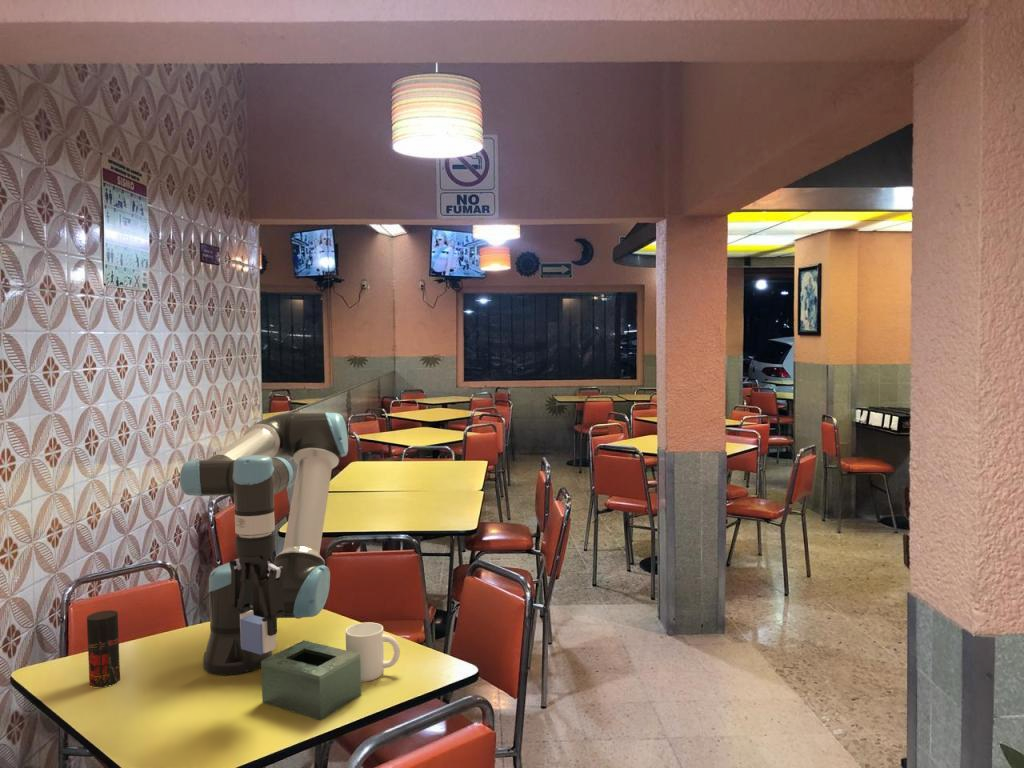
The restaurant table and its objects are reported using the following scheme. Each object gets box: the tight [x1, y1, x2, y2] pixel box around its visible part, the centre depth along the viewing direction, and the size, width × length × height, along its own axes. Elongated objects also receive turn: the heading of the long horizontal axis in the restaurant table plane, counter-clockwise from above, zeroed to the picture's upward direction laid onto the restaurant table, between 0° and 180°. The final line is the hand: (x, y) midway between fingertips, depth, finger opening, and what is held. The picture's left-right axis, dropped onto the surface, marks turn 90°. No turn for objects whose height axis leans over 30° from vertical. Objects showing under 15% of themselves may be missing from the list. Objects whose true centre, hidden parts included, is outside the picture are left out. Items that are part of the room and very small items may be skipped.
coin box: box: [260, 640, 362, 721], centre depth 153 cm, size 16×12×9 cm
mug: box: [345, 621, 401, 683], centre depth 164 cm, size 12×8×10 cm
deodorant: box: [86, 610, 121, 688], centre depth 162 cm, size 6×6×15 cm
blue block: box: [240, 615, 264, 655], centre depth 148 cm, size 6×3×6 cm, turn 58°
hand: (258, 646), depth 148 cm, fingers closed on blue block, 6 cm apart
